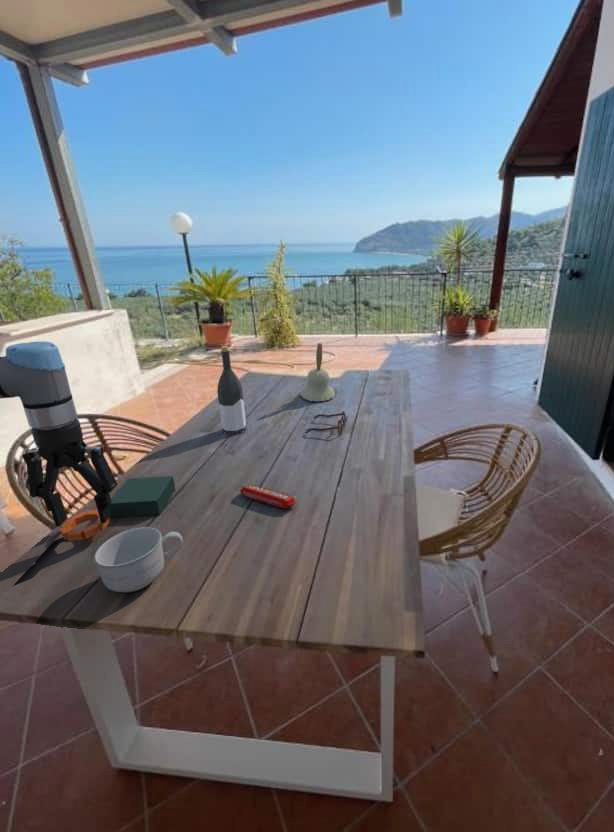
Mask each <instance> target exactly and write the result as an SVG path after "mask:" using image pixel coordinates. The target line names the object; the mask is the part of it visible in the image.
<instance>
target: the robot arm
mask: <svg viewBox="0 0 614 832" xmlns="http://www.w3.org/2000/svg"><path fill="white" fill-rule="evenodd" d="M13 398H19V399H20V401H21V404H22V408H23V410H24V413H25V416H26V417H25V418H26V421H27V423H28V427H30V428H31V430H30V432H31V436H32V438H33V442H34V445H35V446H36V447H37V449H36V448H35V447H34V448H31V449H29V450H27V451H26V452H25V453H23V454H22V455H21V457H22V460H23V461H24V463H25V466H26V471H27V481H28V491H29V496H30V497H31V498H37V497H38V498H40V499H42V500H43V503H44V506H45V509H46V510H47V512H50V513H51V516H52V519H53V522H54V525H55V527H61V526H62V525H63V523H64V522H65V521H66V520H67V519H68V516H67V512H66V509H65V506H64V502H63V499H62V497H61V493H60V492H59V491H58V492H57V488H56V486H57V483H58V479H59V473H60V469H61V468H71V469H72V470H73V471H74V472H78V474H79V475H80V476H81V477H82V478H83V480H85V482H86V483H87V484H88V485H89V486H90V488H91V489H92V490H93V491H94V492H95V493H96V494H95V495H94V496H93V499H94V503H95V506H96V510H98V513H99V517H100V521H101V523H105V522H106V521H107V520H108V519H109V520H110V516H111V512H110V509H109V505H110V504H111V498H112V497H111V494H110V493H112V492H113V491H114V490H115V488H116V487H117V486H118V482H117V480H116V477H115V476H114V473H113V471H112V469H111V467H110V465H109V463H108V461H107V459H106V457H105V454H104V446H103V445H102V444H98V445H96V446H89V445H88V444H86V442H85V441H84V434H83V429H82V425H81V421H80V419H78V412H77V408H76V405H75V402H74V398H73V395H72V391H71V387H70V383H69V378H68V375H67V371H66V365H65V363H64V361H63V358H62V355H61V352H60V350H59V347H58V345H56V344H55V343H53V342H51V341H43V340H42V341H30V342H20V343H15V344H11V345H8V346H7V347H6V348H5V355H4V356H0V399H13ZM86 454H87V456H86ZM42 459H43V460H45V462H46V464H45V468H44V470H43V461H42ZM90 462H91V463H90ZM43 471H45V475H44V473H43ZM54 492H55V493H54Z"/></svg>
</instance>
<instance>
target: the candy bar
mask: <svg viewBox="0 0 614 832" xmlns="http://www.w3.org/2000/svg"><path fill="white" fill-rule="evenodd" d="M239 493H240V494H241V495H242V496H243V497H246V498H249V499H252V500H255V501H258V502H261V503H264V504H267V505H271V506H274V507H278V508H281V509H288V508H291V507H293V506H294V505H296V504H297V502H296V500H295V498H294V497H293V496H292V495H290V494H286V493H284V492H279V491H276V490H273V489H269V488H266V487H262V486H259V485H256V484H251V483H250V484H246V485H245V486H243V487H242V488H241V489H240V490H239Z"/></svg>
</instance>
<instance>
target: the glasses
mask: <svg viewBox="0 0 614 832" xmlns="http://www.w3.org/2000/svg"><path fill="white" fill-rule="evenodd" d="M338 416H341V418H340V419H339V420H337V426H332V427H324V428H317V427H311V428H309V429H308V430H306V431H305V432H304V433H307V434H308V433H309V432H311V431H319V432H323V431H330V430H336V429H337V430H338V433H339V435H342V434H343V425H346V424H345V422H346V423H347V416H346V412H345V411H343V410H342V411H341V412H340V413H334V414H323V413H321V414H319V413H318V414H317V415H315V416H314V417H313V419H315V420H316V419H318V417H325V418H331V417H338ZM342 423H343V424H342ZM341 433H342V434H341Z"/></svg>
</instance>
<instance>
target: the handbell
mask: <svg viewBox="0 0 614 832" xmlns="http://www.w3.org/2000/svg"><path fill="white" fill-rule="evenodd" d="M315 361H316V367H313V368H312V369H310V370H309V371H308V373H307V378H306V379H307V383H306V385H304V386H303V387H301V389H300V391H299V394H300V397H301V398H303V399H304V400H306V401H308V400H309V401H308V402H312V401H322V400H327V399H330V398H332V399H334V397H335V396H336V392H335V389H334V388H332V387H331V386H330V374H329V372H328V371H327V370H325V369H324V368H322V363H323V344H322V343H321V342H318V343H317V345H316V352H315Z"/></svg>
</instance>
